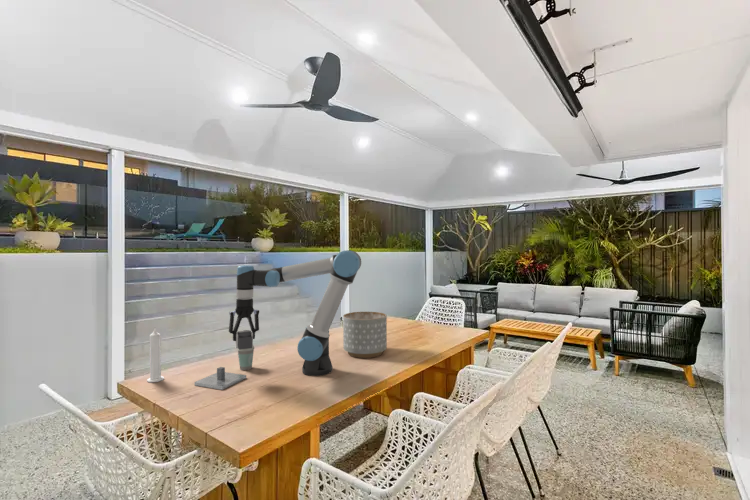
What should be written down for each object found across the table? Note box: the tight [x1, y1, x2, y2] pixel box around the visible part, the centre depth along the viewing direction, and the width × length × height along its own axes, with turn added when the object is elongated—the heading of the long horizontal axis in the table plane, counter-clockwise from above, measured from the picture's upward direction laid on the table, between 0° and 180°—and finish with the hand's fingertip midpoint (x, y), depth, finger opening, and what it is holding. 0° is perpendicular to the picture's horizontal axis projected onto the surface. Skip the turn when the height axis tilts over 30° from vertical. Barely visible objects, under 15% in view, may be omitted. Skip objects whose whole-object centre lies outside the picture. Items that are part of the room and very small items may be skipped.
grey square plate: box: [193, 366, 247, 391], centre depth 183 cm, size 16×16×6 cm
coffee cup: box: [236, 345, 255, 371], centre depth 203 cm, size 8×8×12 cm
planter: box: [342, 311, 388, 359], centre depth 230 cm, size 26×26×22 cm
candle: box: [146, 327, 165, 383], centre depth 186 cm, size 7×7×25 cm
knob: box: [237, 329, 252, 350], centre depth 185 cm, size 6×6×8 cm
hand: (243, 346), depth 185 cm, fingers closed on knob, 6 cm apart
